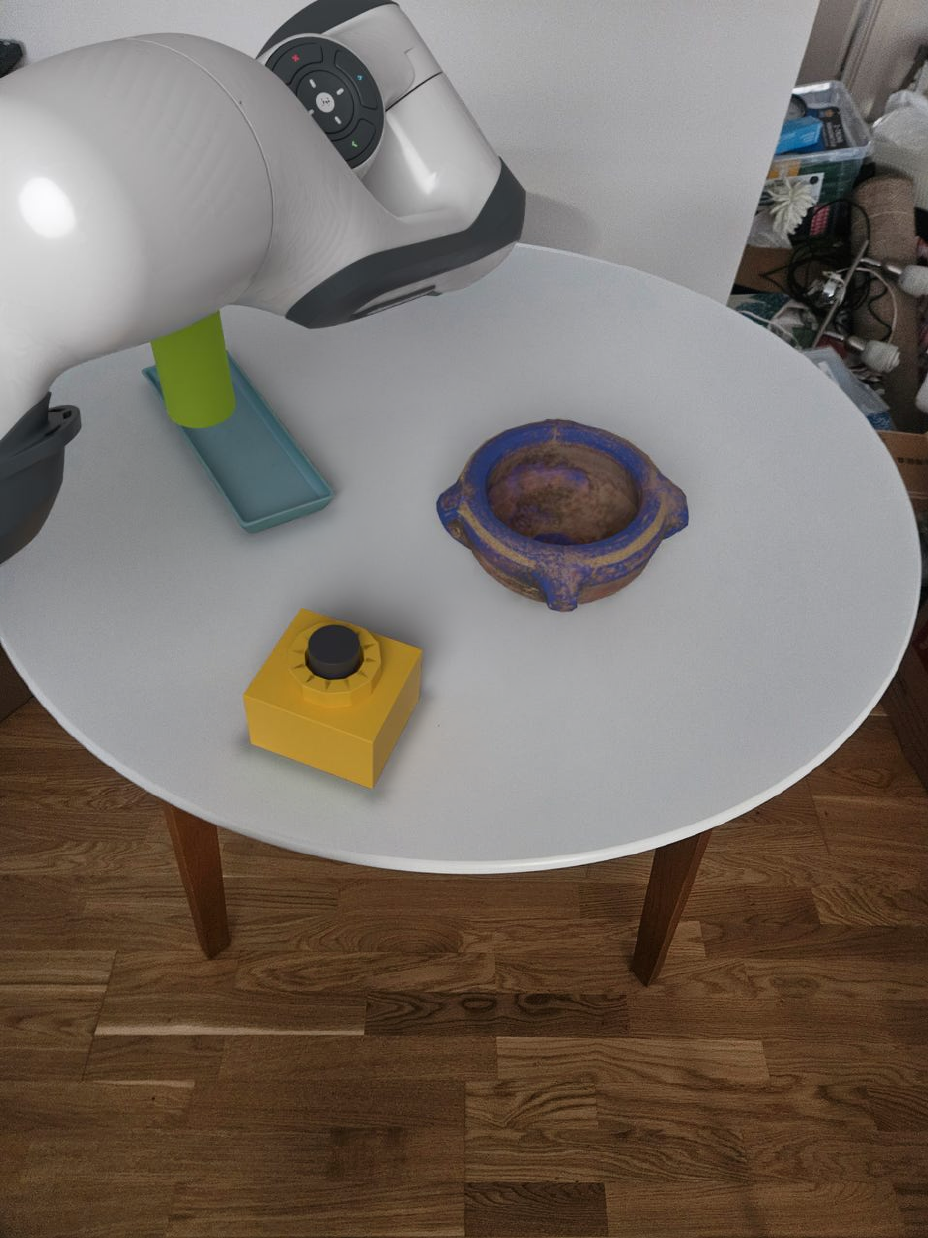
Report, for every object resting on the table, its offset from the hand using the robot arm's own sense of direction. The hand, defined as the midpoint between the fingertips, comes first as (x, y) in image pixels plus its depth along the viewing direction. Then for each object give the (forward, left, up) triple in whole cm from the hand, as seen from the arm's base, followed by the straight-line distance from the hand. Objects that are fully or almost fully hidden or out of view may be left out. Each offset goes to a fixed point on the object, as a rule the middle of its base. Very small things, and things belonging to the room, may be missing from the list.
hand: (172, 287), depth 77 cm
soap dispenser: (+1, 0, -11) cm, 12 cm away
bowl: (+33, +3, -20) cm, 39 cm away
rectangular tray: (+1, +5, -20) cm, 20 cm away
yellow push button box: (+23, -20, -20) cm, 37 cm away
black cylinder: (+23, -20, -12) cm, 33 cm away
